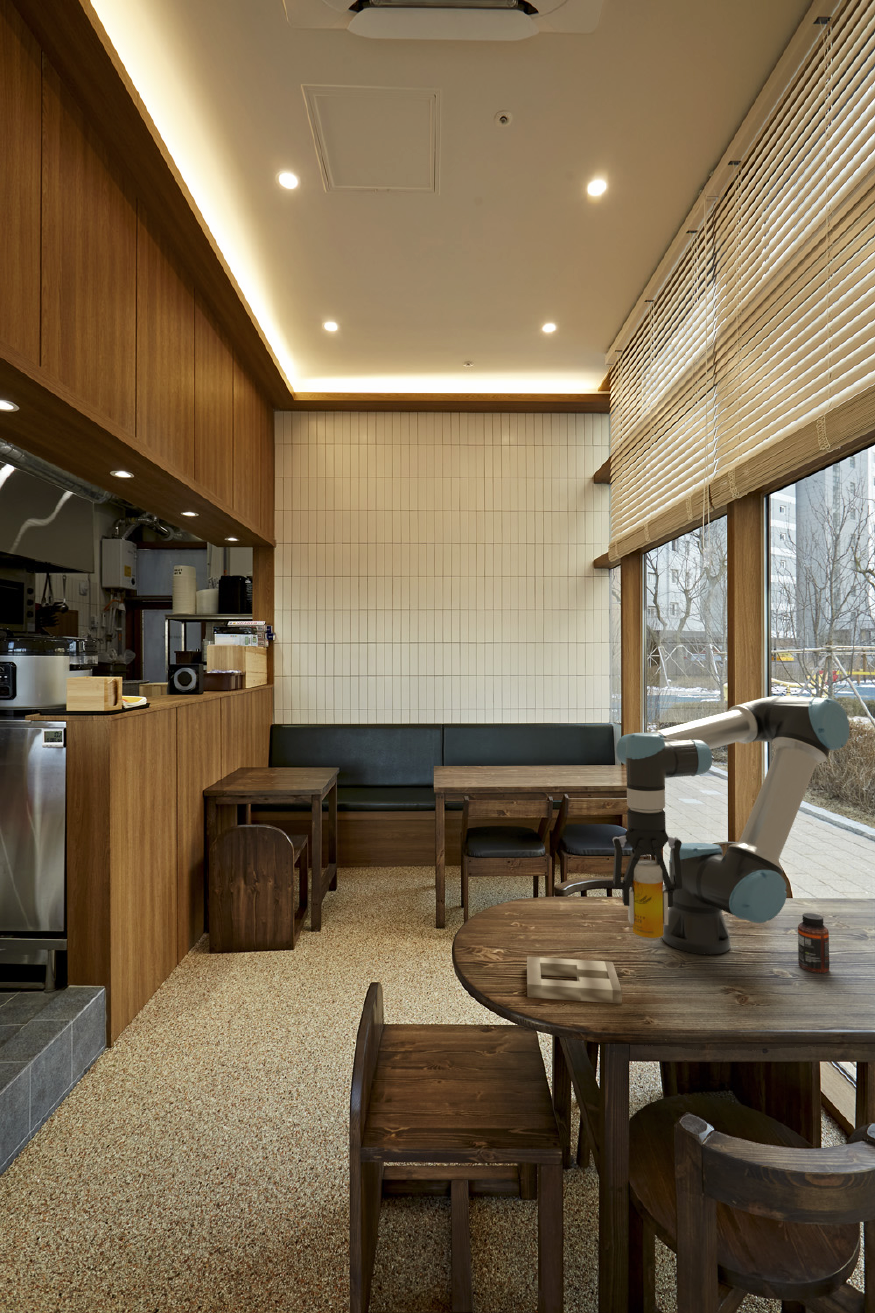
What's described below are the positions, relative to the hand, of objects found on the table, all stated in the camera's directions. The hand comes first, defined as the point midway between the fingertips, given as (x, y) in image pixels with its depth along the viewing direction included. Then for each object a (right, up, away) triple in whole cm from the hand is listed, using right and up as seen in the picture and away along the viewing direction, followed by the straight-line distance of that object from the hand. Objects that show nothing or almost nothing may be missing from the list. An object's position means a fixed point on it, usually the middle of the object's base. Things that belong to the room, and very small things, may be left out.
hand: (647, 921), depth 137 cm
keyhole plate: (-16, -13, -1) cm, 20 cm away
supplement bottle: (+39, -14, +8) cm, 42 cm away
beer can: (0, -3, 0) cm, 3 cm away
